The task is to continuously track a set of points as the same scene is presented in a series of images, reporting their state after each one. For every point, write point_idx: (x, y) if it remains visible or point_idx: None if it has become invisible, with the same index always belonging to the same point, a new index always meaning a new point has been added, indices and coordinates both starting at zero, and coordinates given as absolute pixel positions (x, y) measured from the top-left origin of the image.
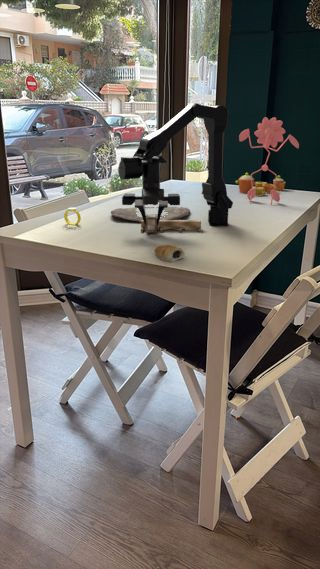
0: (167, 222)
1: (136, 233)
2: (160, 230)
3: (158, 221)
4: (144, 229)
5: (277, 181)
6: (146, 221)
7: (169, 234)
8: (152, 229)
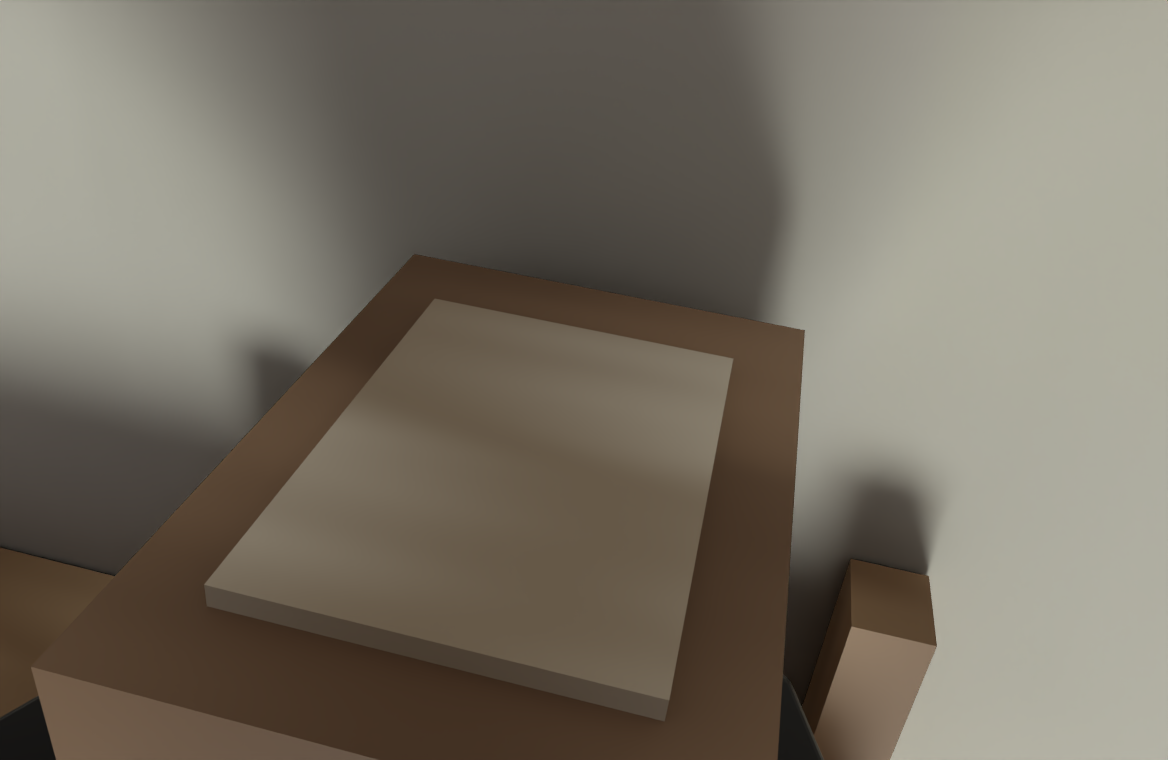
0: None
1: (1125, 476)
2: None
3: None
4: None
5: None
6: (745, 632)
7: (44, 170)
8: (527, 321)
